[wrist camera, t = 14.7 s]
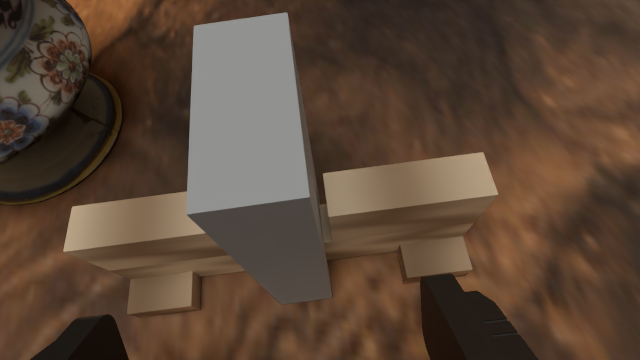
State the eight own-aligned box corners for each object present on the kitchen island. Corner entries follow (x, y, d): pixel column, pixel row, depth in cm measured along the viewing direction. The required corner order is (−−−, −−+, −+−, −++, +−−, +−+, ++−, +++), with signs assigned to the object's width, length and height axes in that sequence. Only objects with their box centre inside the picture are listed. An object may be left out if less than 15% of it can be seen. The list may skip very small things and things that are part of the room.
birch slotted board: (439, 183, 21) (470, 118, 15) (465, 275, 18) (513, 236, 13) (148, 221, 21) (79, 170, 15) (139, 317, 18) (54, 296, 13)
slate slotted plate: (319, 196, 21) (287, 12, 10) (332, 297, 18) (310, 197, 8) (273, 202, 21) (193, 25, 10) (281, 304, 18) (186, 214, 8)
